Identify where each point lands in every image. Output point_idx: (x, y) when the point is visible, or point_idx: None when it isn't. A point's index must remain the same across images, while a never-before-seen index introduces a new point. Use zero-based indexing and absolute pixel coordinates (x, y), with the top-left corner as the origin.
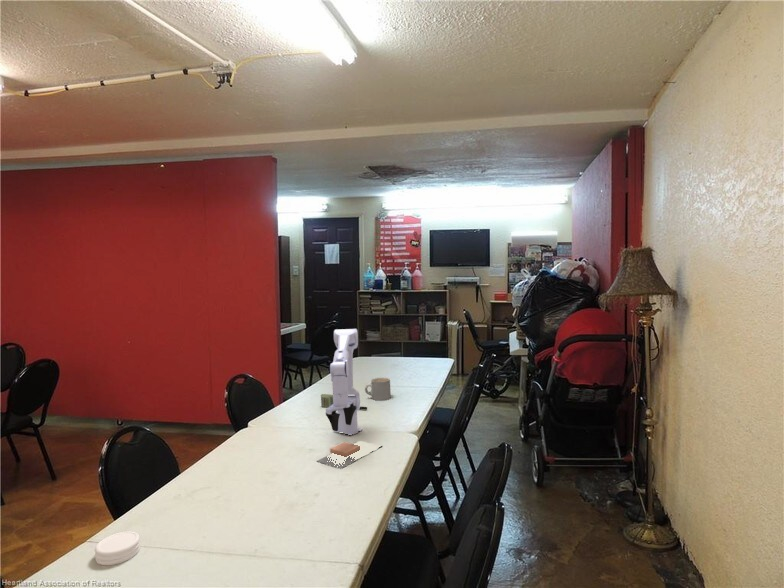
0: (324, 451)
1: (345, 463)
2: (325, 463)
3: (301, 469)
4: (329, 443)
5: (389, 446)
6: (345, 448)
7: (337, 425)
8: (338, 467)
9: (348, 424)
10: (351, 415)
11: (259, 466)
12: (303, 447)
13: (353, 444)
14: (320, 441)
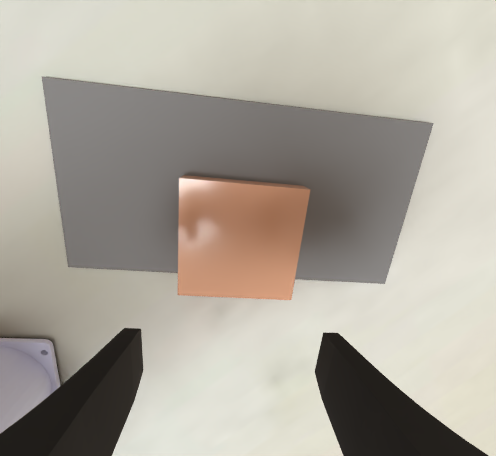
0: (271, 322)
1: (372, 139)
2: (400, 231)
3: (466, 284)
4: (184, 359)
5: (8, 30)
6: (253, 233)
7: (368, 372)
8: (427, 142)
9: (140, 347)
10: (62, 426)
11: (468, 412)
12: (272, 409)
13: (180, 227)
14: (187, 399)
